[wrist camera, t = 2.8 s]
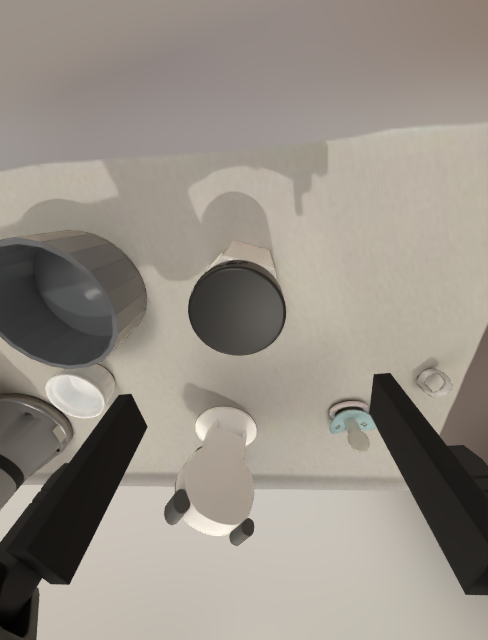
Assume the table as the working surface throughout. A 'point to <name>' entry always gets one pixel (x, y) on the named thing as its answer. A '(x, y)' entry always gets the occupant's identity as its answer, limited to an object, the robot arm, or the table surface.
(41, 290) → the grey round bowl
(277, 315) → the jar
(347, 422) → the pacifier
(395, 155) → the table surface
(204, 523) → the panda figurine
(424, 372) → the pale grey ring
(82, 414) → the ramekin
